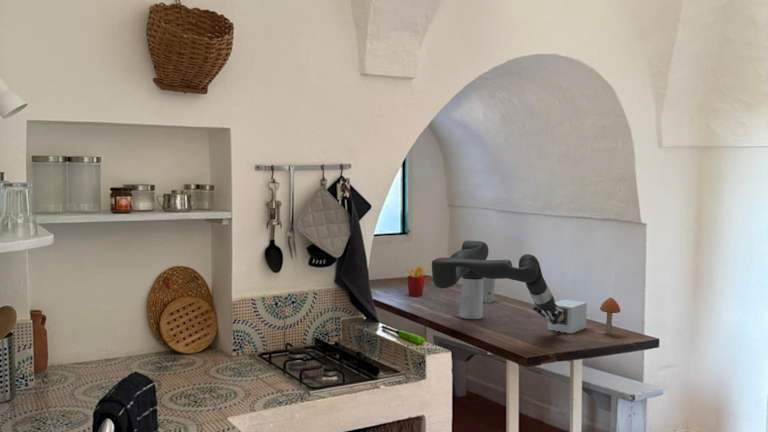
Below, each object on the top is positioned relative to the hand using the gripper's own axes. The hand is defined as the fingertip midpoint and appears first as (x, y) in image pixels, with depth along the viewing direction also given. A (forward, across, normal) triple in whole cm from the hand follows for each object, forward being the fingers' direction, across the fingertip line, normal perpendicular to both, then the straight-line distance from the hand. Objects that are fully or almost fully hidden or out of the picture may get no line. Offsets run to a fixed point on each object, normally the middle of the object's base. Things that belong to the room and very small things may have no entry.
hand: (554, 322), depth 301 cm
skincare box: (+31, -56, +24) cm, 68 cm away
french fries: (+23, -88, +16) cm, 92 cm away
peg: (+5, -1, +5) cm, 7 cm away
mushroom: (+14, +16, +7) cm, 23 cm away
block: (+12, -1, +6) cm, 13 cm away
